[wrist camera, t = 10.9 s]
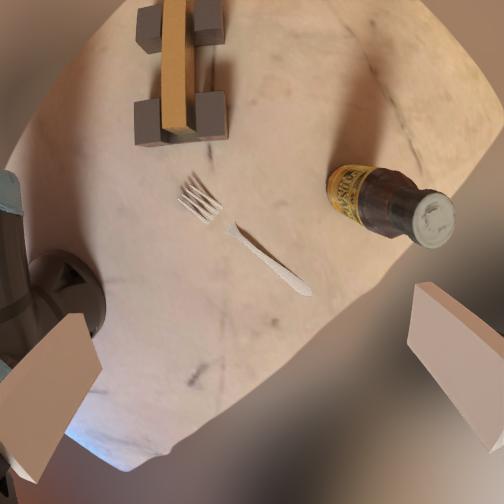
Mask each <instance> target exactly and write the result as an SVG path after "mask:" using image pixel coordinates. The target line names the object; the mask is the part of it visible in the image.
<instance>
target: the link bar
mask: <svg viewBox="0 0 504 504" xmlns="http://www.w3.org/2000/svg"><path fill="white" fill-rule="evenodd" d="M161 101H162V129H164V130H167V131H169V132H171V133H174V134H183V133H193V132H196V117H195V80H194V16H193V14H192V11H191V9H190V6H189V4H188V1H187V0H165V1H164V8H163V27H162V61H161Z"/></svg>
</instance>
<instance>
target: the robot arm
mask: <svg viewBox="0 0 504 504" xmlns="http://www.w3.org/2000/svg"><path fill="white" fill-rule="evenodd" d="M23 216H24V212H23V211H22V204H21V193H20V183H19V180H18V178H17V176H16V175H15V174H14V173H12V172H10V171H8V170H1V169H0V504H18V501H17V497H16V492H15V488H14V484H13V478H12V476H11V474H10V473H9V472H8V469H9V467H10V466H11V467H12V468H13V469H14V470H15V471H16V472H17V474H18V475H19V476H20V477H22V478H24V479H26V480H29V481H31V482H34V483H36V484H37V482H38V481H39V479H40V477H41V475H42V473H43V471H44V469H45V467H46V465H47V463H48V461H49V459H50V457H51V456H52V454H53V452H54V450H55V448H56V447H57V445H58V443H59V441H60V440H61V438H62V436H63V434H64V432H65V431H66V429H67V427H68V425H69V424H70V422H71V420H72V418H73V417H74V415H75V413H76V412H77V410H78V408H79V407H80V405H81V403H82V402H83V400H84V398H85V397H86V395H87V393H88V392H89V390H90V388H91V387H92V385H93V383H94V382H95V380H96V379H97V377H98V375H99V374H100V372H101V371H102V366H101V364H100V361H99V359H98V356H97V353H96V351H95V348H94V345H93V342H92V339H93V338H94V337H95V335H96V334H97V333H98V332H99V330H100V329H101V327H102V325H103V323H104V320H105V314H106V305H105V299H104V295H103V292H102V289H101V286H100V284H99V282H98V280H97V279H96V277H95V275H94V274H93V273H92V271H91V270H90V269H89V268H88V267H87V265H86V264H85V263H83V262H82V261H81V260H80V259H78V258H77V257H75V256H74V255H72V254H70V253H67V252H64V251H58V250H54V251H49V252H46V253H44V254H42V255H40V256H38V257H37V258H35V259H34V260H33V261H32V262H31V263H30V264H29V265H28V262H27V255H26V247H25V239H24V229H23ZM407 344H408V346H409V347H410V348H411V349H412V351H413V352H414V353H415V354H416V356H417V357H418V358H419V359H420V361H421V362H422V363H423V364H424V366H425V367H426V368H427V369H428V371H429V372H430V373H431V375H432V376H433V377H434V379H435V380H436V381H437V383H438V384H439V385H440V387H441V388H442V389H443V391H444V392H445V393H446V394H447V396H448V397H449V398H450V400H451V401H452V402H453V404H454V405H455V407H456V408H457V409H458V411H459V412H460V413H461V415H462V416H463V417H464V419H465V420H466V422H467V423H468V425H469V426H470V427H471V429H472V430H473V432H474V433H475V434H476V436H477V437H478V439H479V440H480V442H481V443H482V445H483V446H484V448H485V449H486V450H487V452H488V454H489V453H491V452H493V451H494V450H496V449H498V448H499V447H501V446H503V445H504V334H502V333H500V332H498V331H495V330H494V329H492V328H491V327H490V326H489V325H487V324H486V323H485V322H484V321H482V320H481V319H480V318H478V317H477V316H476V315H474V314H473V313H472V312H471V311H469V310H468V309H467V308H465V307H464V306H463V305H462V304H460V303H459V302H458V301H456V300H455V299H454V298H452V297H451V296H450V295H448V294H447V293H446V292H444V291H443V290H441V289H440V288H439V287H437V286H436V285H434V284H433V283H432V282H425V283H419V284H415V290H414V299H413V307H412V314H411V322H410V328H409V334H408V340H407Z"/></svg>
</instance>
